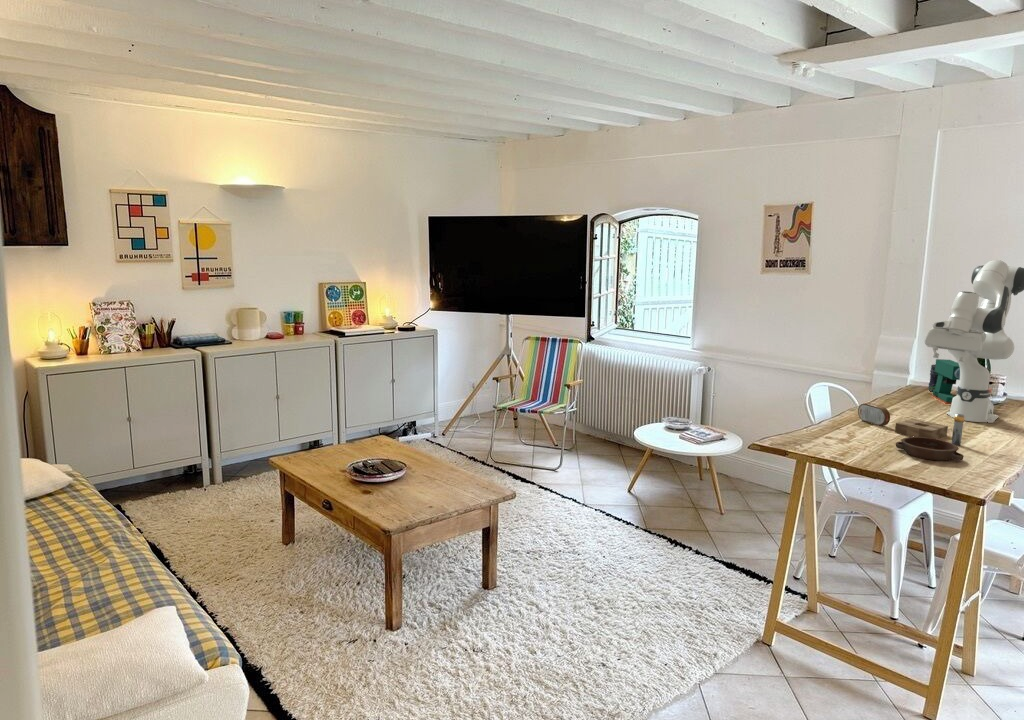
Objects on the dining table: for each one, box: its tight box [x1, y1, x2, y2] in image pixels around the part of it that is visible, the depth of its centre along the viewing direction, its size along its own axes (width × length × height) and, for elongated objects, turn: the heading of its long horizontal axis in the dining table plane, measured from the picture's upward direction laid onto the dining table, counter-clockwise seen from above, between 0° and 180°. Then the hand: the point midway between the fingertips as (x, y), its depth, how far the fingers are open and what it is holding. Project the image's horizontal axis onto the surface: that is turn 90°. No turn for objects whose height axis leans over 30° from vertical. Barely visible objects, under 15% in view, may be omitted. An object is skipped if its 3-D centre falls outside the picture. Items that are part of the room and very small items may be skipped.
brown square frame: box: [894, 418, 949, 439], centre depth 285 cm, size 14×14×4 cm
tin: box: [857, 402, 891, 427], centre depth 301 cm, size 15×3×8 cm, turn 20°
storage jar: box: [927, 364, 939, 392], centre depth 365 cm, size 10×10×15 cm
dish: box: [895, 436, 965, 462], centre depth 256 cm, size 18×22×5 cm
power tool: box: [930, 358, 960, 404], centre depth 341 cm, size 32×7×20 cm, turn 168°
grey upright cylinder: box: [951, 414, 965, 447], centre depth 270 cm, size 3×3×12 cm
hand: (948, 359), depth 283 cm, fingers open, 8 cm apart
